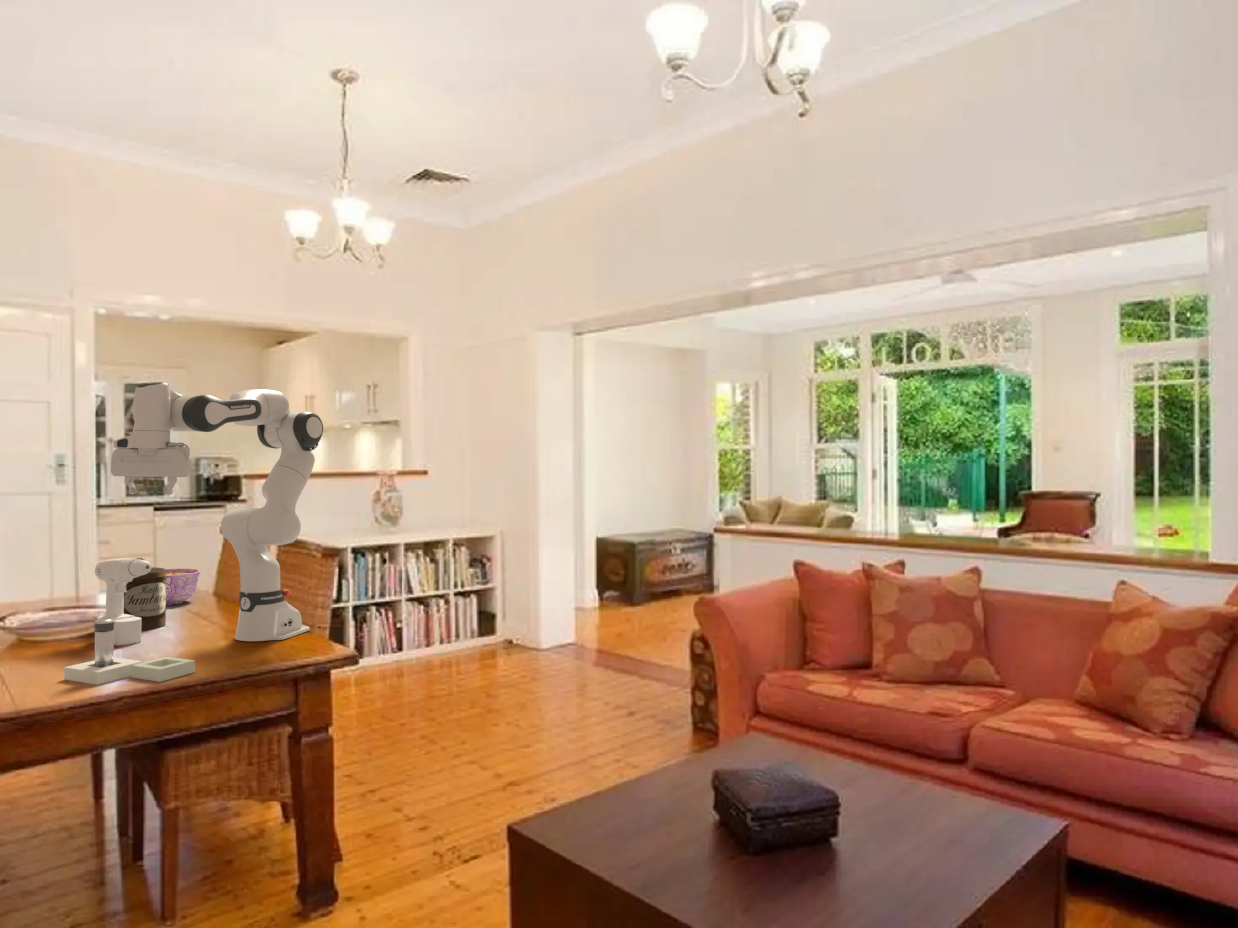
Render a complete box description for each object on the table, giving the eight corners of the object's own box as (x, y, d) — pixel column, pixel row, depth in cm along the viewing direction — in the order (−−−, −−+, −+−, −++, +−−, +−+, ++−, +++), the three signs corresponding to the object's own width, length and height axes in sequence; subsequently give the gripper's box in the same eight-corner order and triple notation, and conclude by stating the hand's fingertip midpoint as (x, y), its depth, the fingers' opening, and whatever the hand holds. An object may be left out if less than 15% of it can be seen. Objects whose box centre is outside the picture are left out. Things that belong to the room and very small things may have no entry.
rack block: (166, 668, 219) (166, 656, 219) (194, 672, 215) (194, 660, 215) (131, 677, 210) (131, 665, 210) (160, 681, 206) (159, 669, 206)
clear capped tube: (106, 673, 214) (106, 618, 214) (117, 675, 212) (118, 619, 212) (90, 677, 210) (90, 620, 210) (102, 679, 208) (102, 622, 208)
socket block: (110, 668, 219) (110, 656, 219) (143, 673, 214) (143, 661, 214) (64, 679, 208) (64, 667, 208) (97, 684, 203) (97, 672, 203)
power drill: (132, 650, 238) (132, 561, 238) (87, 640, 251) (87, 556, 251) (162, 644, 246) (162, 558, 245) (117, 635, 258) (117, 553, 258)
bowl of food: (157, 610, 300) (157, 577, 300) (128, 604, 311) (128, 572, 311) (211, 602, 317) (211, 571, 317) (181, 596, 328) (181, 567, 328)
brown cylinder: (129, 633, 261) (129, 562, 261) (102, 628, 269) (102, 558, 269) (175, 625, 274) (175, 557, 274) (148, 620, 282) (148, 554, 282)
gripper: (195, 443, 229) (195, 494, 229) (122, 442, 230) (121, 493, 230) (182, 442, 223) (182, 494, 222) (107, 441, 224) (106, 493, 223)
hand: (150, 494), depth 226 cm, fingers open, 8 cm apart
